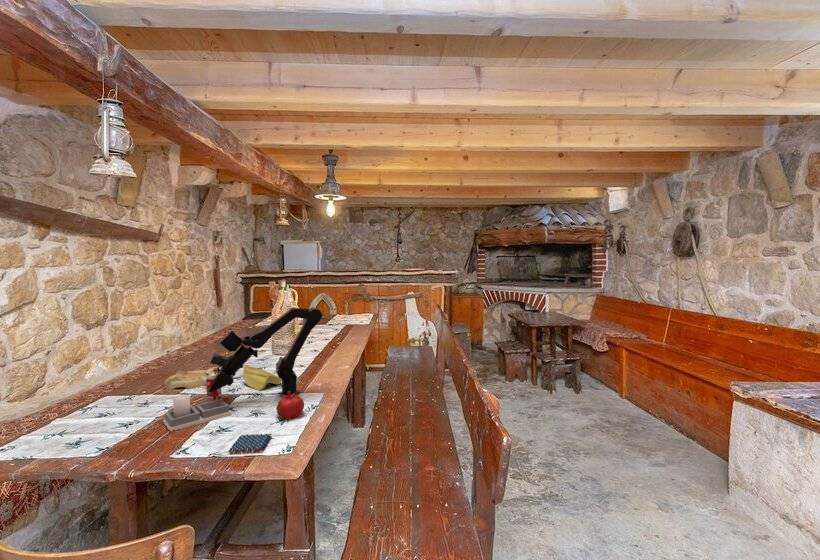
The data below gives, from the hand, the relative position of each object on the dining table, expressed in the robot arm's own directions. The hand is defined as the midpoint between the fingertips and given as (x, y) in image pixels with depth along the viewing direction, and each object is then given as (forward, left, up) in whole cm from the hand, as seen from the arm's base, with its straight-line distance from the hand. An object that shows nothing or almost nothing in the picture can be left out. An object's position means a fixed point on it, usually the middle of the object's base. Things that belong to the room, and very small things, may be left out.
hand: (210, 389), depth 157 cm
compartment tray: (-9, +8, -7) cm, 14 cm away
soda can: (-1, -1, -7) cm, 7 cm away
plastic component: (+10, -27, -7) cm, 30 cm away
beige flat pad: (+38, -7, -7) cm, 40 cm away
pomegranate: (-33, -15, -7) cm, 37 cm away
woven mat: (-44, +6, -7) cm, 45 cm away
